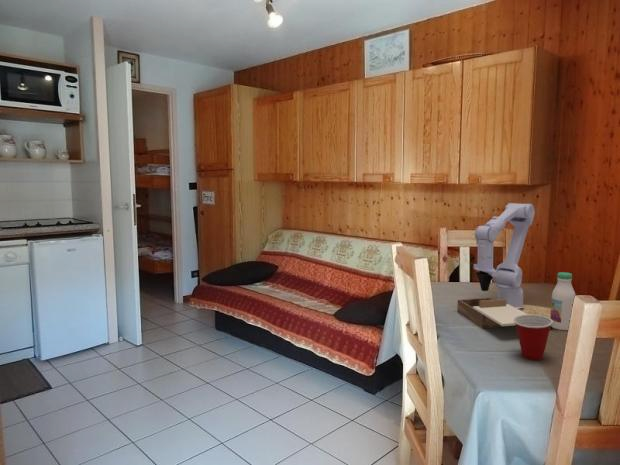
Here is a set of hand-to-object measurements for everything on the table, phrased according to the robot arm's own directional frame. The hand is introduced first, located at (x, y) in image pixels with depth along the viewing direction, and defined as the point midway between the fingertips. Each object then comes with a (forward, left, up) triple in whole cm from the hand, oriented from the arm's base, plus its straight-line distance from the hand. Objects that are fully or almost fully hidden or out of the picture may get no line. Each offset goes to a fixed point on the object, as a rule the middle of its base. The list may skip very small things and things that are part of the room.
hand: (484, 290), depth 176 cm
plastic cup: (+6, +39, -10) cm, 41 cm away
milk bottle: (-20, +18, -10) cm, 29 cm away
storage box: (+1, +3, -10) cm, 11 cm away
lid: (+1, +16, -5) cm, 17 cm away
